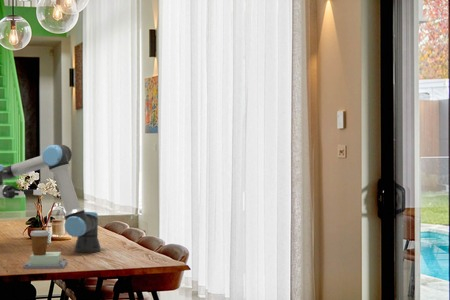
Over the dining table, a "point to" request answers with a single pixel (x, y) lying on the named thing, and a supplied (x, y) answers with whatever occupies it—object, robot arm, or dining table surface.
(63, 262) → the tower base
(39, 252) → the disposable coffee cup
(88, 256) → the dining table surface
